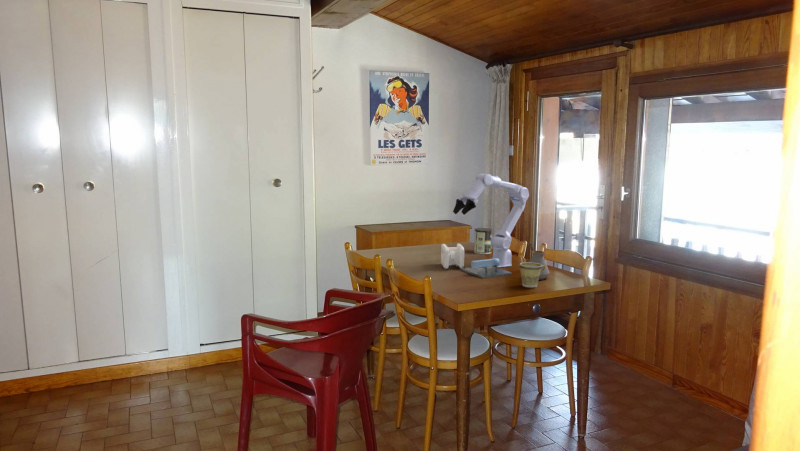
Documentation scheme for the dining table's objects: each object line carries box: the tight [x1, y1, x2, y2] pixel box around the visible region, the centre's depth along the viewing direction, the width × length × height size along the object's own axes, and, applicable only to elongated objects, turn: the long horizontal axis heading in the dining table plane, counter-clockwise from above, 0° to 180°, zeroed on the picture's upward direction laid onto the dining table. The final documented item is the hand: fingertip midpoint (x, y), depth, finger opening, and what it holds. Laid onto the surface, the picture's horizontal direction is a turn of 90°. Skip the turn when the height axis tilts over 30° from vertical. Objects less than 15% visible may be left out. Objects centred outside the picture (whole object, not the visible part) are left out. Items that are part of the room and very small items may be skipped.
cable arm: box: [470, 257, 499, 268], centre depth 278 cm, size 16×4×3 cm, turn 118°
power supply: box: [483, 266, 495, 273], centre depth 280 cm, size 5×5×3 cm
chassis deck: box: [460, 267, 513, 279], centre depth 282 cm, size 18×18×1 cm
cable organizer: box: [440, 243, 465, 270], centre depth 293 cm, size 15×11×12 cm
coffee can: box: [473, 227, 493, 255], centre depth 332 cm, size 10×10×14 cm
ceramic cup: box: [519, 261, 545, 289], centre depth 257 cm, size 13×10×10 cm
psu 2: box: [470, 266, 485, 274], centre depth 277 cm, size 5×5×3 cm
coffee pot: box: [526, 241, 550, 281], centre depth 276 cm, size 21×12×15 cm, turn 3°
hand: (458, 213), depth 279 cm, fingers open, 7 cm apart
